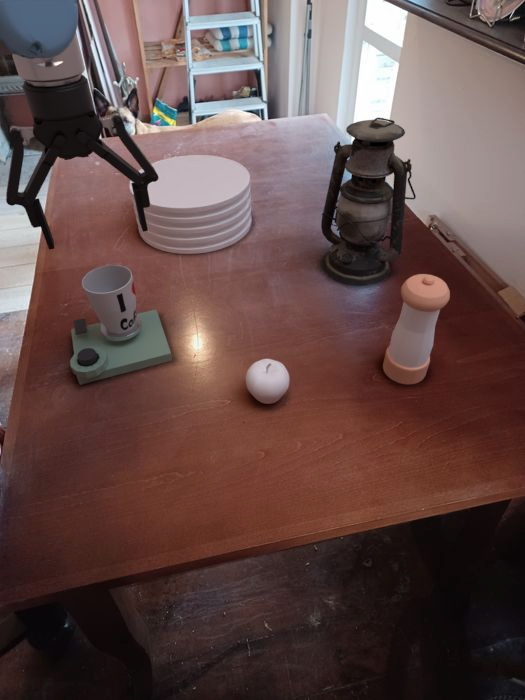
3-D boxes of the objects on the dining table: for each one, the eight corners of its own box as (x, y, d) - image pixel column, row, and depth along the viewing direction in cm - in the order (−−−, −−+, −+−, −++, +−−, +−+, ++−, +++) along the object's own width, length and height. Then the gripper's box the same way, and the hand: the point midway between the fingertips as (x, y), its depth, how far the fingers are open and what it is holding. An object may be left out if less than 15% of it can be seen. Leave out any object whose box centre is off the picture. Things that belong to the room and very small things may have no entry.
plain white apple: (269, 419, 75) (269, 385, 69) (237, 395, 78) (235, 361, 73) (298, 393, 79) (300, 359, 73) (266, 372, 82) (266, 338, 77)
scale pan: (77, 351, 82) (76, 348, 81) (74, 321, 87) (72, 318, 87) (145, 335, 84) (144, 331, 84) (137, 306, 90) (136, 303, 90)
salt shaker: (388, 349, 86) (410, 258, 72) (429, 361, 83) (459, 270, 70) (377, 376, 81) (398, 285, 68) (420, 390, 79) (450, 298, 65)
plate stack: (122, 249, 111) (110, 203, 103) (159, 194, 131) (151, 152, 123) (239, 258, 108) (237, 211, 100) (259, 200, 127) (259, 157, 119)
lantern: (301, 266, 105) (308, 124, 84) (345, 230, 116) (360, 95, 95) (378, 297, 96) (407, 147, 76) (418, 255, 107) (452, 113, 86)
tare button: (80, 368, 79) (77, 362, 78) (78, 356, 81) (76, 350, 80) (98, 364, 80) (96, 357, 79) (96, 352, 82) (94, 345, 81)
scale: (77, 389, 80) (71, 375, 78) (71, 337, 89) (65, 323, 87) (173, 364, 84) (170, 350, 81) (158, 316, 93) (155, 302, 91)
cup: (129, 343, 82) (115, 297, 75) (88, 334, 84) (71, 288, 77) (151, 314, 87) (141, 269, 80) (113, 306, 89) (99, 261, 82)
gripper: (-66, 99, 51) (9, 266, 66) (163, 74, 57) (185, 231, 72) (-58, 81, 56) (10, 239, 71) (151, 59, 62) (174, 209, 77)
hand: (98, 235), depth 72 cm, fingers open, 13 cm apart
